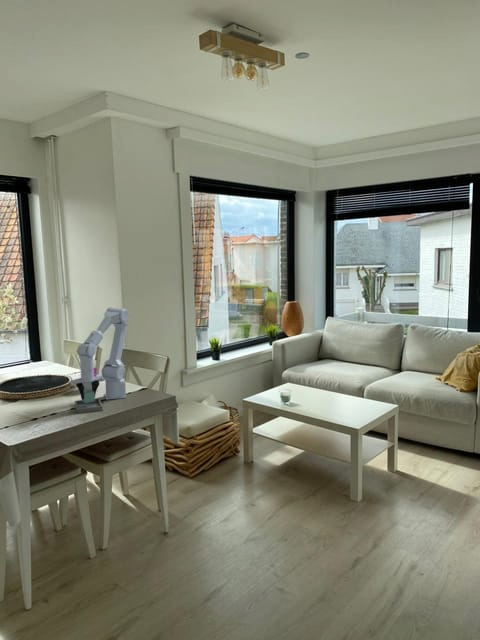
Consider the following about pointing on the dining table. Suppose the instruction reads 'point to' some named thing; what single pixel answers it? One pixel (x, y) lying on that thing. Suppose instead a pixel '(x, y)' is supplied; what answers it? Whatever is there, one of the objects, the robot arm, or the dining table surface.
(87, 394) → the teal block
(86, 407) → the tray
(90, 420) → the dining table surface
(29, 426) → the dining table surface
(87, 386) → the supplement box
